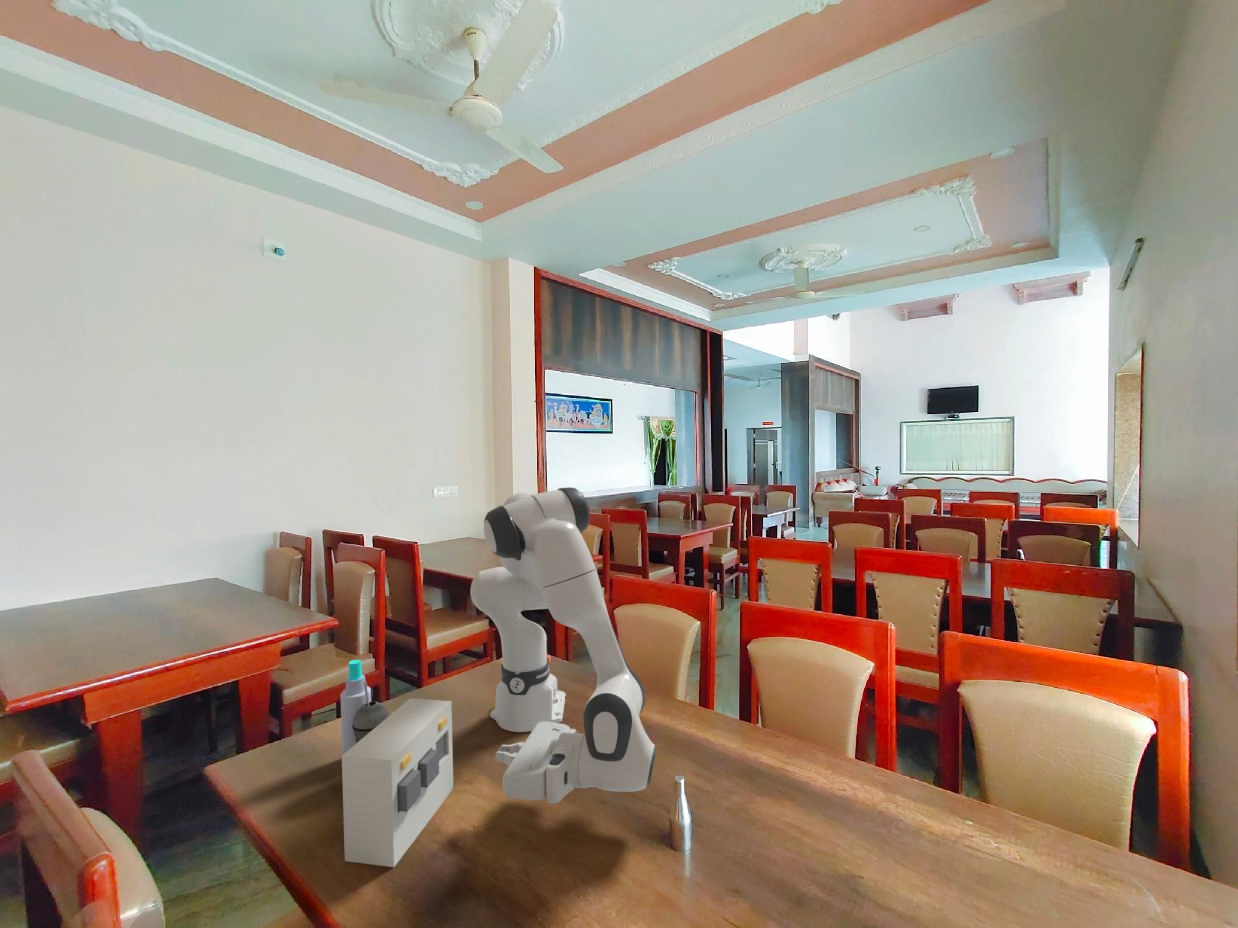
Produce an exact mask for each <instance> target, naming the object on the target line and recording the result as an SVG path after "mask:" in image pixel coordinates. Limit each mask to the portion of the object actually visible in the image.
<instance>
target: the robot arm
mask: <svg viewBox="0 0 1238 928" xmlns="http://www.w3.org/2000/svg"><path fill="white" fill-rule="evenodd" d="M590 512H591V511H590V507H589V504H588V501H587V499H586V497H585V496H584V494H583V493H582V492H581V491H580V490H579V489H577V488H576V487H560V488H557V489H556V490H549V491H543V492H539V493H535V494H533V493H528V492H527V493H526V492H520V493H518V492H517V493H515V494H512V495H511V496H509V497H508V498H507V499H506V500H505V501H504V503H503V504H502V505H500V506H499V505H498V506H497V507H495V508H493V509H490V510H489V511H488V512H487V513H486V515H485V517H484V520H483V524H484V525H483V535H484V539H485V542H486V544H487V546H488V547H489V548H490V549H491V552H492V553H493V554H494V555H495V556H498V557H499V560H500V562H501V564H502V566H496V567H491V568H488V569H487V568H486V569H483V570H480V571H478V572H477V573H476V574H475V576H474V577H473V580H471V585H470V597H471V600H472V603H473V604H474V605H475V607H476V608H477V609H478V610H479V611H481V612H483V613H484V614H485V615H486V616H487V617H489V618H490V619H491V620H492V621H493V623H494V624H495V626H496V628H497V630H498V633H499V636H500V641H501V643H500V644H501V652H502V653H501V655H502V662H501V663H502V664H501V665H500V680H501V681H500V682H498V684H496V688H495V705H494V706H495V707H494V709H492V710H491V711H490V714H489V715H490V716H489V717H490V718H491V719H493V720H495V721H496V723H497V725H498V727H500V729H503V730H506V731H509V732H512V733H513V732H514V733H527V732H530V734H529V735H528V737H527V738H526V740H525V741H519V742H515V743H512V744H501V746H500V747H499V748H498V750H497V752H495V755H494V757H495V758H494V761H495V762H497V763H503V764H505V765H507V766H508V767H507V769H506V770H505V772H504V773H503V775H502V793H503V794H504V795H505V797H507V798H509V799H514V800H521V801H530V802H531V801H532V802H537V801H538V802H539V801H542V800H545V799H546V803H547V804H550V805H551V804H552V805H556V804H559V803H560V802H561V801H562V800H563V799H564V798H565V797H566V796H567V795H568V794H569V793H571V792H572V791H574V789H575V788H578V789H586V788H592V787H593V788H598V789H600V790H603V791H610V792H620V793H621V792H623V793H624V792H626V793H627V792H638V791H639V792H640V791H642V790H645V789H646V788H648V786H649V785H650V783H651V781H652V777H653V776H652V775H653V772H654V768H655V762H656V756H657V747H656V745H655V743H653V742H652V740H651V739H650V738H649V736H648V734H647V733H646V731H645V728H644V726H643V724H642V721H641V718H640V716H641V714H642V712H643V710H644V708H645V705H646V701H647V693H646V689H645V686H644V683H643V682H642V680H641V678H640V677H639V676H638V675H637V673H635V671H634V670H633V669H632V668H631V667H630V666H629V664H628V662H627V660H626V657H625V656H624V653H623V650H622V648H621V645H620V642H619V640H618V637H617V634H616V632H615V629H614V627H613V624H612V621H611V619H610V617H609V613H608V609H607V605H606V601H605V598H604V597H605V596H604V592H603V589H602V585H601V580H600V578H599V575H598V574H599V573H598V571H597V569H596V565H595V562H594V560H593V557H592V555H591V552H590V549H589V547H588V544H587V542H586V541H585V539H584V537H583V535H582V533H583V532H584V531H586V530H587V529H588V527H589V525H590V521H591V513H590ZM546 609H548V611H549V613H550V614H551V616H552V619H554V620H555V621H556V622H557V623H559V624H560V625H563V626H566V627H568V628H572V629H574V630H575V631H576V632H578V633H579V635H580V636H581V637H582V639H583V641H584V643H585V646H586V648H587V651H588V654H589V656H590V659H591V662H592V665H593V668H594V670H595V672H596V673H595V674H596V687H595V690H594V692H593V693H592V695H590V698H589V699H588V701H587V702H586V705H585V707H584V710H583V716H582V718H583V719H582V721H583V729H584V733H580V732H578V730H577V729H576V728H570V726H569V725H568V724H565V723H561V722H562V721H563V716H564V711H565V705H564V704H565V703H566V699H565V696H566V695H567V694H566V692H564V691H562V690H560V689H558V678H557V677H556V676H555V675H554V674H552V673H551V671H550V663H551V660H552V658H551V655H550V654H549V655H548V651H547V634H546V630H544V628H543V627H542V626H541V625H540V624H538V623H536V622H534V621H532V620H529V619H527V618H526V617H524V616H523V615H522V613H521V612H523V611H533V610H546Z"/></svg>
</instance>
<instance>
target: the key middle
mask: <svg viewBox="0 0 1238 928" xmlns="http://www.w3.org/2000/svg"><path fill="white" fill-rule="evenodd" d="M418 770H419V771H420V778H421V787H423V788H427V787H428V786H429V785H430V784H431V783H432V781H433V780H434V779H435V778H436V777H437V775H438V774H439V750H431V749H430V750H429V751H428V752H427V753H426V754H425V755H424V756H423V757H422V758H421V759H420V761H419V762H418Z"/></svg>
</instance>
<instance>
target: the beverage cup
mask: <svg viewBox="0 0 1238 928" xmlns="http://www.w3.org/2000/svg"><path fill="white" fill-rule="evenodd" d="M367 684H368V683H367V681H365V682H364V688H365V696H366V703H365V704H364V705H362V706H361V707H360V708H359V709H358V710H357V712H356V714H355V716H354V719H353V724H352V728H353V731H354V735H355V738H356V743H358V742H359V741H360V740H361V739H362V738H363V737H365V736H366V735H367V734H368V733H369V732H371V731H372V730H373V729H374V728H375V727H377V726H378V725H379V724H380V723H381V722H383V721H384V720H385V719H386V718H387V717H389V716H390V714H389V711H388V709H387V707H386V706H385V705H384V704H383V703H381V702H378V701H372V700H371V702H369V698H368V690H367V686H368V685H367Z"/></svg>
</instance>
